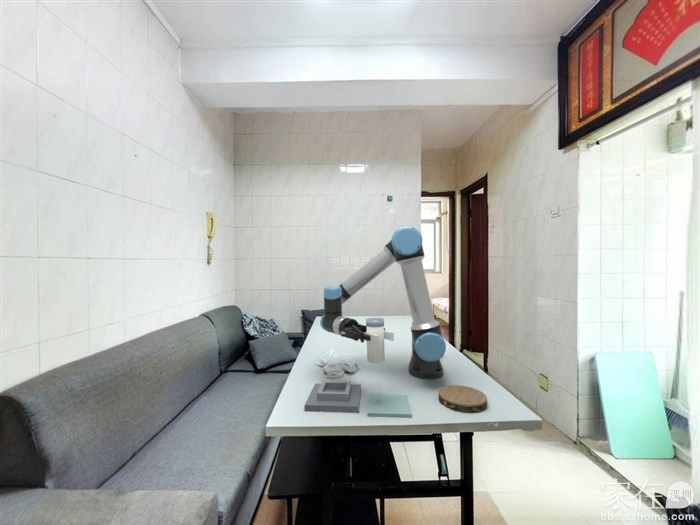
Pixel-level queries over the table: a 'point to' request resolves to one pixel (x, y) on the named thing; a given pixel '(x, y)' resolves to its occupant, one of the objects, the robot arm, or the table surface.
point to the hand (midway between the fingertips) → (385, 338)
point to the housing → (334, 397)
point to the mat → (388, 405)
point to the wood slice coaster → (463, 399)
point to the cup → (377, 350)
